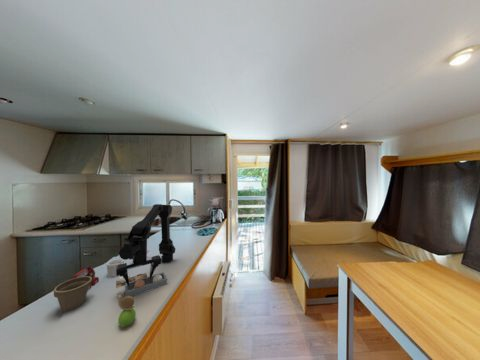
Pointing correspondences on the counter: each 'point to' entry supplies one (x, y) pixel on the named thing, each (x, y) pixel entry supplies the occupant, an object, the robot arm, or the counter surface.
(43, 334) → the counter surface
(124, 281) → the ball ivory rack
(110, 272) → the cup
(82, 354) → the counter surface
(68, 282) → the flower pot
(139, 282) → the ball terracotta
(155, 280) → the ball ivory trough
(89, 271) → the toy fire truck
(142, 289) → the trough
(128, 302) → the snail figurine
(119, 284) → the rack
